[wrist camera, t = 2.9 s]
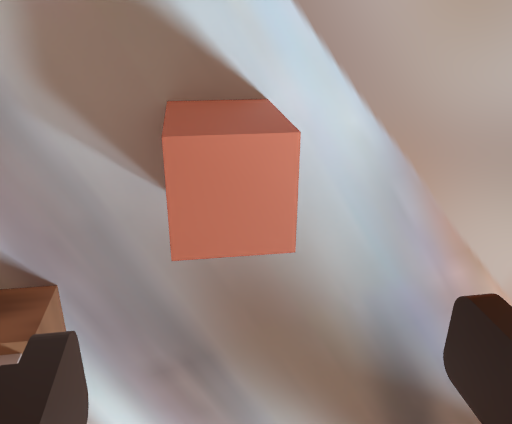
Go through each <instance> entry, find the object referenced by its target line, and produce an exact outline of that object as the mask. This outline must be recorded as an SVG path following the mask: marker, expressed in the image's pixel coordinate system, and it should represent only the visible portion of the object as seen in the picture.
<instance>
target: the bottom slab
mask: <svg viewBox="0 0 512 424" xmlns="http://www.w3.org/2000/svg"><path fill="white" fill-rule="evenodd" d="M65 331H66V328H65V323H64V318H63V312H62V307H61V302H60V297H59V292H58V287H57V285H56V286H42V287H29V288H15V289H1V290H0V355H8V354H18V353H21V354H23V352H24V349H25V347H26V345H27V343H28V340H29V339H30V337H31V336H32V335H34V334H43V333H54V332H65Z"/></svg>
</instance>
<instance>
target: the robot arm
mask: <svg viewBox="0 0 512 424" xmlns="http://www.w3.org/2000/svg"><path fill="white" fill-rule="evenodd" d="M443 359H444V366H445V369H446V372H447V375H448V377H449V379H450V381H451V382H452V384H453V385H454V386H455V388H456V389H457V390H458V392H459V393H460V394H461V396H462V397H463V399H464V400H465V401H466V403H467V404H468V405H469V407H470V408H471V409H472V411H473V412H474V414H475V415H476V416H477V418H478V419H479V420H480V422H481V423H482V424H512V306H510V305H509V304H508V303H507V302H506V301H505V300H504V299H503V298H501V297H500V296H499V295H497V294H482V295H471V296H461V297H459V298H457V300H456V301H455V303H454V306H453V311H452V316H451V320H450V325H449V329H448V334H447V338H446V343H445V347H444V353H443ZM87 418H88V390H87V384H86V379H85V374H84V369H83V363H82V358H81V353H80V348H79V342H78V338H77V335H76V333H75V331H65V332H54V333H43V334H34V335H32V336H31V337H30V339H29V340H28V343H27V345H26V347H25V349H24V352H23V354H22V356H21V358H20V360H19V363H18V364H8V365H1V366H0V424H87Z"/></svg>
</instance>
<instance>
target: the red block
mask: <svg viewBox="0 0 512 424" xmlns="http://www.w3.org/2000/svg"><path fill="white" fill-rule="evenodd" d="M300 133H301V132H300V131H299V130H298V129H297V128H296V127H295V126H294V125H293V124H292V123H291V122H290V121H289V120H288V119H287V118H286V117H285V116H284V115H283V114H282V113H281V112H280V111H279V110H278V109H277V108H276V107H275V106H274V105H273V104H272V103H271V102H270V101H269V100H268V99H248V100H203V101H167V105H166V112H165V118H164V125H163V132H162V147H163V159H164V172H165V184H166V197H167V209H168V222H169V234H170V247H171V259H172V261H179V260H193V259H207V258H222V257H236V256H250V255H264V254H279V253H293V252H295V246H296V223H297V201H298V178H299V156H300Z"/></svg>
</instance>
